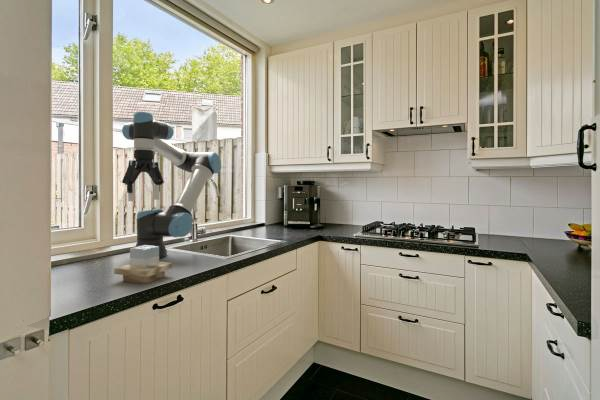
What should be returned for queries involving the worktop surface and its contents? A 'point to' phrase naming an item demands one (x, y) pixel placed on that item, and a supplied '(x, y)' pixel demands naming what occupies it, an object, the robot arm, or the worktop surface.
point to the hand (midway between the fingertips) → (144, 200)
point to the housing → (144, 256)
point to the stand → (143, 273)
